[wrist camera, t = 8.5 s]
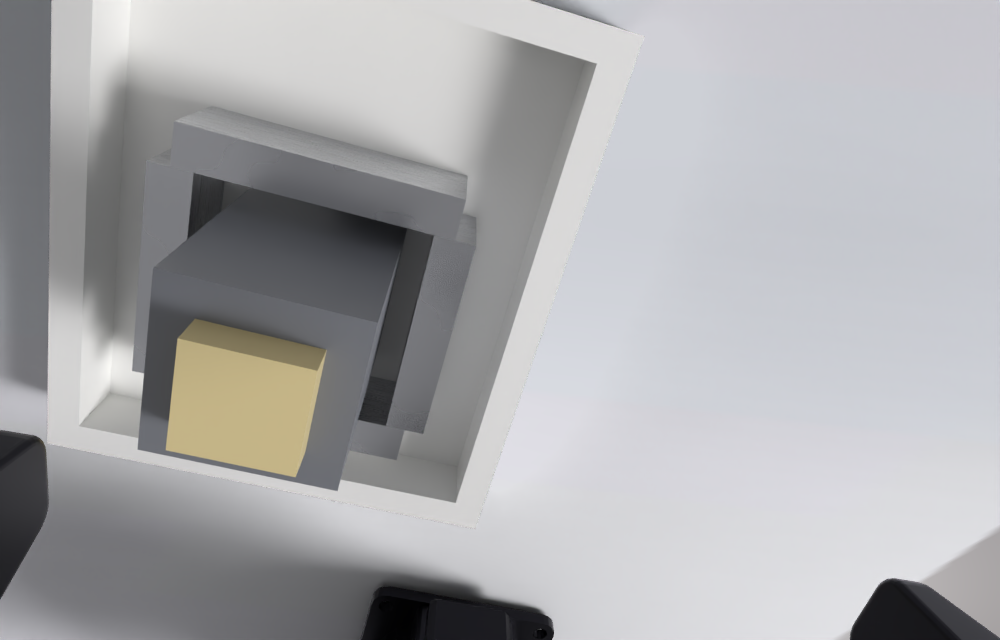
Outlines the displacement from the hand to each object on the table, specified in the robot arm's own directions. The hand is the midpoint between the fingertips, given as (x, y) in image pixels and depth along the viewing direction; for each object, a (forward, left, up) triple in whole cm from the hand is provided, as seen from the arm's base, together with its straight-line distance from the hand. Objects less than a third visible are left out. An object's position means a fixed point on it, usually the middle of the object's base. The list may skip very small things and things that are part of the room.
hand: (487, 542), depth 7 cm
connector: (-3, +4, -12) cm, 13 cm away
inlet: (-3, +4, -12) cm, 13 cm away
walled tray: (-2, +4, -12) cm, 13 cm away
